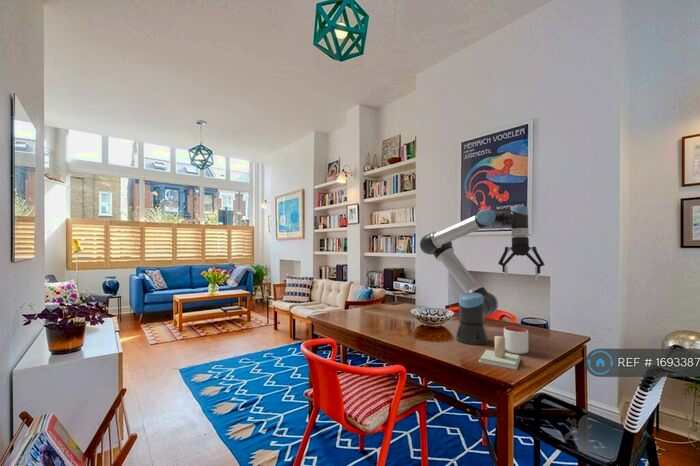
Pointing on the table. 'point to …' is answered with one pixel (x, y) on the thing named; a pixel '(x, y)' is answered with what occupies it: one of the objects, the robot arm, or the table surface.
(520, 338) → the cup
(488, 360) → the lid
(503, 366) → the mat
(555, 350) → the table surface
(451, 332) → the table surface
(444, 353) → the table surface
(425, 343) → the table surface
